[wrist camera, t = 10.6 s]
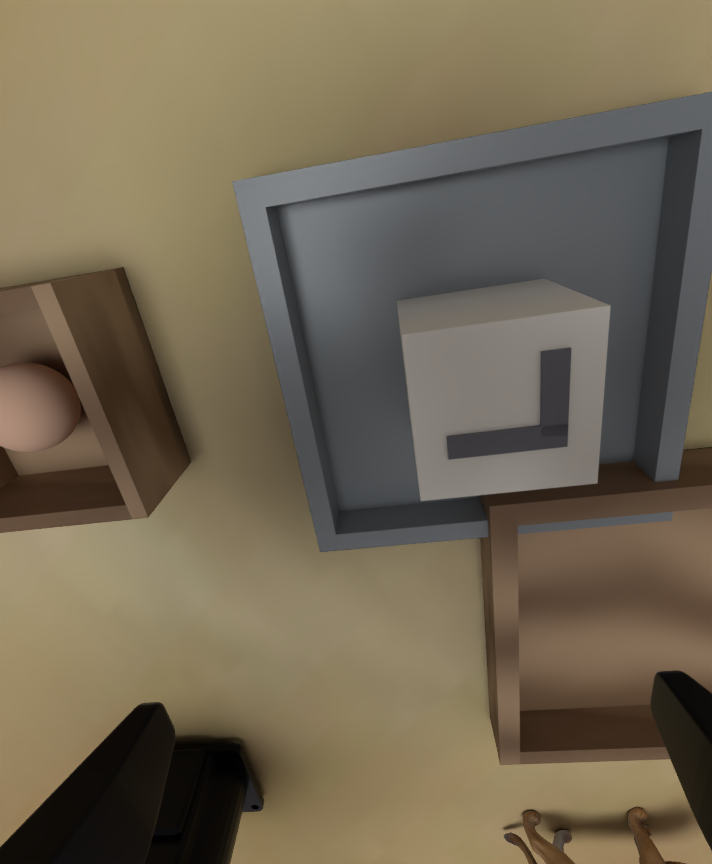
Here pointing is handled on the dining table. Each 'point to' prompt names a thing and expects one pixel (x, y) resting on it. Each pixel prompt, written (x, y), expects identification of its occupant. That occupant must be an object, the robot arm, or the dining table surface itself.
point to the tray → (478, 268)
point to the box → (89, 406)
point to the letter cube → (504, 387)
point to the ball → (36, 407)
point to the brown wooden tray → (595, 612)
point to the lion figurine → (555, 853)
